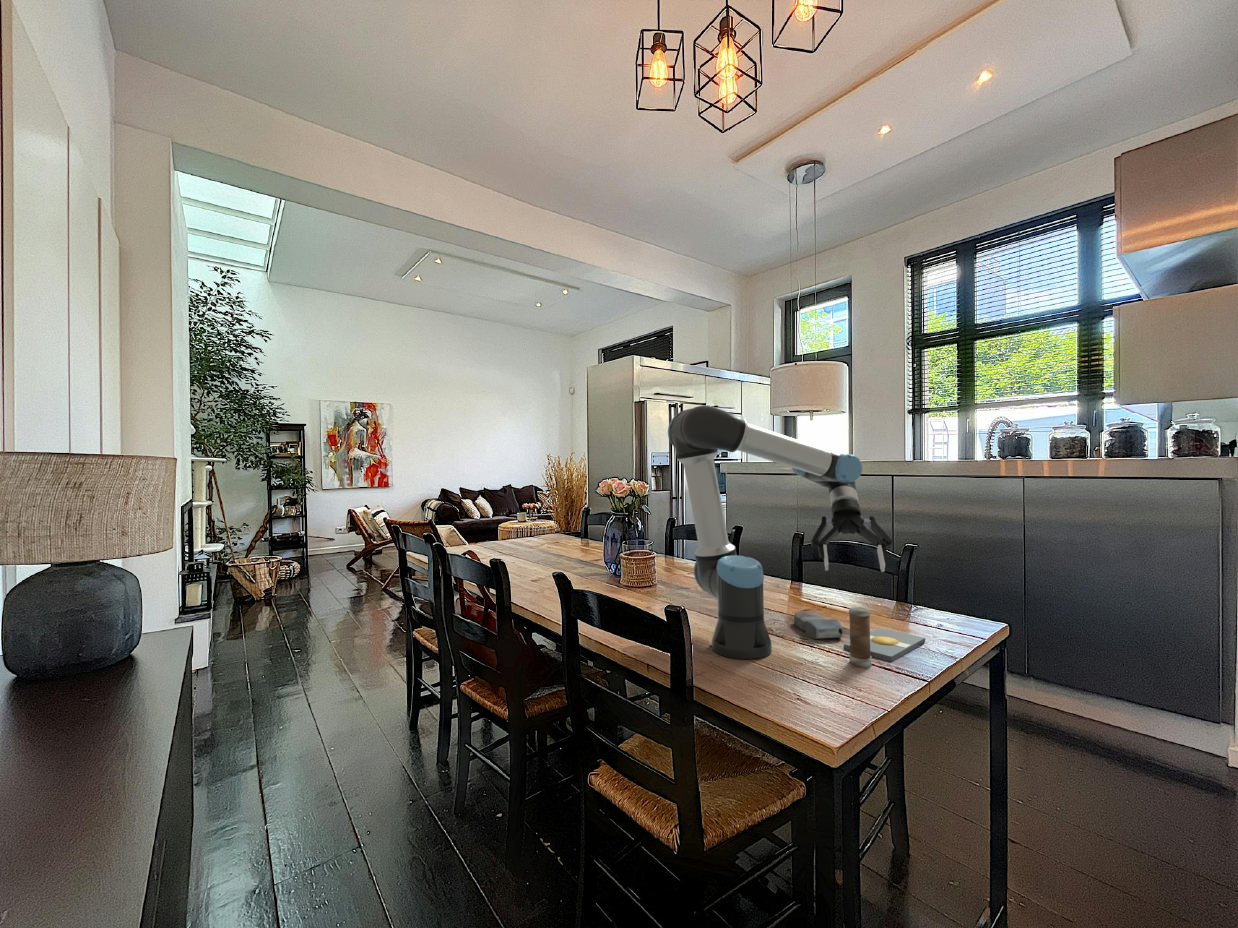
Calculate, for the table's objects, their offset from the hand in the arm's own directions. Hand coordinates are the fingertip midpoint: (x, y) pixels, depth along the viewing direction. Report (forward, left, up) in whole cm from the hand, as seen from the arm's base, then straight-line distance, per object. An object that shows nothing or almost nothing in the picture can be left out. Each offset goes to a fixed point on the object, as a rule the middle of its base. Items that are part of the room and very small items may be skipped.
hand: (854, 568), depth 140 cm
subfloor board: (+7, +2, -20) cm, 22 cm away
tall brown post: (-1, -13, -20) cm, 24 cm away
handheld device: (-10, +12, -21) cm, 26 cm away
